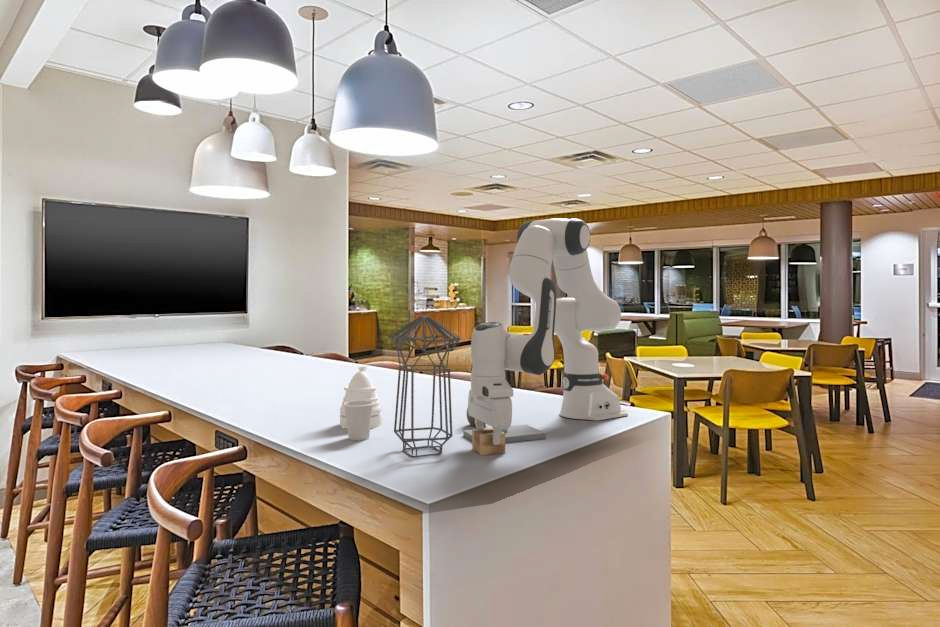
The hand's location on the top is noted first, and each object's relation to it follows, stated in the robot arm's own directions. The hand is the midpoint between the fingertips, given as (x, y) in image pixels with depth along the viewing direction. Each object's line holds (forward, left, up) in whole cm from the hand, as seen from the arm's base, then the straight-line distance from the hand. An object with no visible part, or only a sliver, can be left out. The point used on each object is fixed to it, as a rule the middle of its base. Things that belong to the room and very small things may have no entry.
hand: (488, 439), depth 152 cm
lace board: (-10, -12, -3) cm, 16 cm away
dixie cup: (+28, -27, -3) cm, 39 cm away
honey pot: (+24, -44, -3) cm, 50 cm away
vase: (-9, -29, -3) cm, 31 cm away
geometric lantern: (+15, -6, -3) cm, 16 cm away
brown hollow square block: (0, 0, -3) cm, 3 cm away
